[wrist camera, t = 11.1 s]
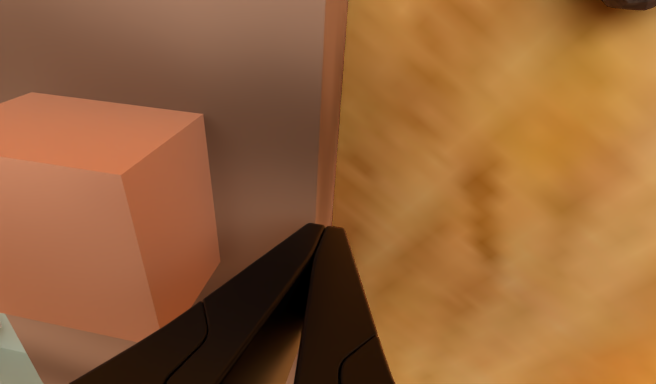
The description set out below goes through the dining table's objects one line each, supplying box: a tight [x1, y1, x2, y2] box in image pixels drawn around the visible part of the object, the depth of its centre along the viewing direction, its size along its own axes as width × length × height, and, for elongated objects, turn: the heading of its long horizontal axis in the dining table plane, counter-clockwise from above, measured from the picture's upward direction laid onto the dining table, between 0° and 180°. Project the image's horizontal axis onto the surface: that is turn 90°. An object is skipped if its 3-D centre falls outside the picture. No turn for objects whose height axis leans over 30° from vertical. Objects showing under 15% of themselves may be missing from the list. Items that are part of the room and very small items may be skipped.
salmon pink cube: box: [0, 92, 220, 342], centre depth 9 cm, size 4×4×3 cm
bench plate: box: [0, 0, 348, 384], centre depth 14 cm, size 20×12×3 cm, turn 177°
